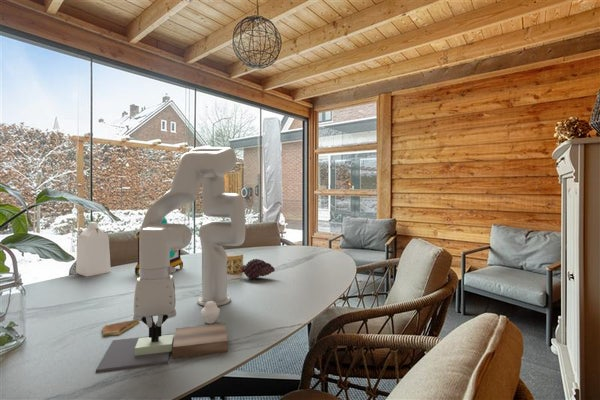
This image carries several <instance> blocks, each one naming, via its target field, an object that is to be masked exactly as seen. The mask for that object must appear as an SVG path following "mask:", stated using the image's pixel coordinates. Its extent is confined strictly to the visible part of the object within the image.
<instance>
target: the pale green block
mask: <svg viewBox="0 0 600 400" xmlns="http://www.w3.org/2000/svg"><path fill="white" fill-rule="evenodd" d="M172 334H173V335H167V334H162V335H163V336H161V337H159V339H158V341H154V342H151V338H149V337H148V336H143V337H144V338H139V339H138V342H137V344H136V346H135V356H137V355H145V354H154V353H162V352H170V353H171V352H173V343H174V337H175V333H172Z"/></svg>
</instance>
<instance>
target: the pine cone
mask: <svg viewBox="0 0 600 400" xmlns="http://www.w3.org/2000/svg"><path fill="white" fill-rule="evenodd" d="M239 269H240V271H239V272H240V273H243V274H244V275H245V276H246V277H247V278H248V279H251V280H254V279H256V278H259V277H264V276H265V277H266V276H268V275H270V274H272V273H274V272H275V267H274V266H272V264H271V263H269V262H266V261H264V260H263V259H259V258H253V259H251V260H249V261H248V262H247V263H246V264H243V265H241V266H239Z"/></svg>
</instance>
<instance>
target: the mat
mask: <svg viewBox="0 0 600 400" xmlns="http://www.w3.org/2000/svg"><path fill="white" fill-rule="evenodd" d="M173 334H174V333H168V334H166V335H173ZM163 335H164V334H161V336H163ZM144 337H145V336H141V337H139V336H138V337H131V338H129V337H128V338H121V339H114V340H113V339H112V342H111V343H110V345H109V346H108V348H107V350H106V352H105V353H104V355H103V357H102V359H101V360H100V362H99V363H98V364H97V365H98V366H96V368H95V373H101V372H107V371H115V370H124V369H131V368H139V367H147V366H148V367H149V366H155V365H154V364H156V365H162V364H161V363H164V364H168V363H169V359H170V354H169V353H171V351H170V352H162V353H154V354H145V355H137V356H135V346H136V344H137V342H138V339H139V338H144ZM147 337H149V335H147Z"/></svg>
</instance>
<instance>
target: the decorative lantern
mask: <svg viewBox="0 0 600 400" xmlns="http://www.w3.org/2000/svg"><path fill="white" fill-rule="evenodd" d="M161 223H168V219H167V218H166V216H165V217H164V218H163V220H162V222H161ZM139 233H140V231H137V233H135V236H136V238H137V264H136V265H135V268H134V273H135V275H139V274H140V267H139ZM170 266H171V267H173V268H174V267H175V268H176V267H178V266H179V269H181V270H182V269H183V268H184V262H183V260H182V258H181V249H180V250H171V251H170Z"/></svg>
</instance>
